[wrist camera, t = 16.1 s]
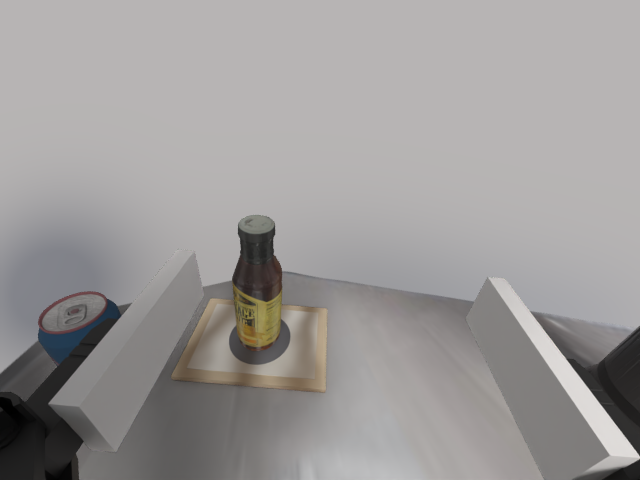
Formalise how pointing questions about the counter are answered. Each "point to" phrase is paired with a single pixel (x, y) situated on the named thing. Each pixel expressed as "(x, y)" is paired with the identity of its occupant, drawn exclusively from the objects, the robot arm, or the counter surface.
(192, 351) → the wooden picture frame
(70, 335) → the soda can
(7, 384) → the counter surface
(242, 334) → the sauce bottle
